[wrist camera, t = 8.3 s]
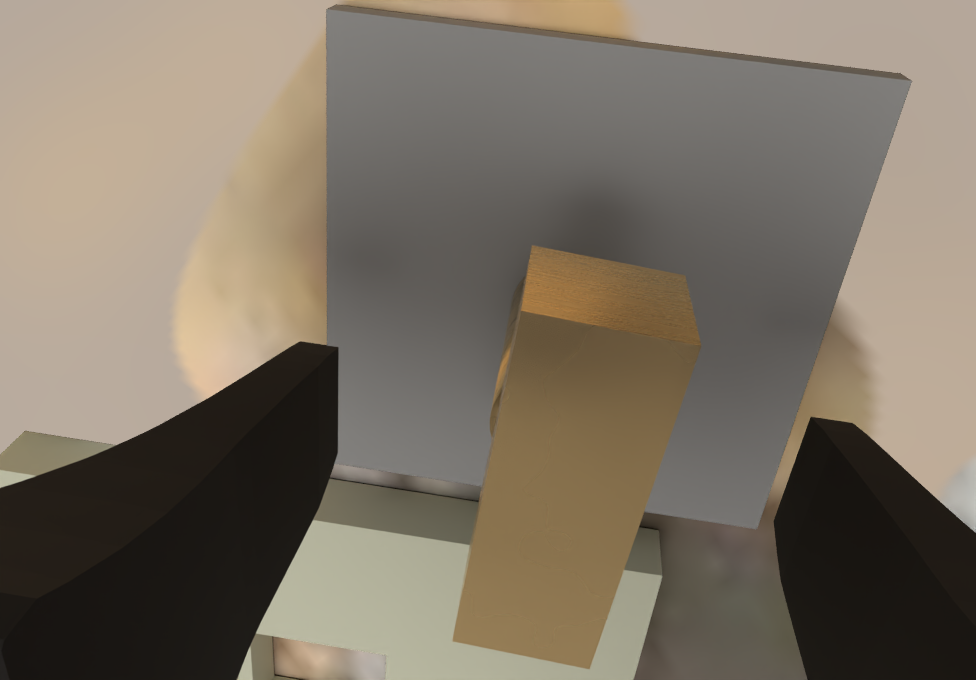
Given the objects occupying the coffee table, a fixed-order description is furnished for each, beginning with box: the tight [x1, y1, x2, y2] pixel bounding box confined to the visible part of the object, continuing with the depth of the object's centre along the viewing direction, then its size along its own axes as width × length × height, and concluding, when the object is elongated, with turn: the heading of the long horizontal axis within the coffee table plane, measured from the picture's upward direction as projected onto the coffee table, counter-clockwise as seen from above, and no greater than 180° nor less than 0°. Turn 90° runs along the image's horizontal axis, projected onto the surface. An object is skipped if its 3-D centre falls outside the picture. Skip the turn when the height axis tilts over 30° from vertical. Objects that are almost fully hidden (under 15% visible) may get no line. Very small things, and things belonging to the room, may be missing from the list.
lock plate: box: [0, 431, 662, 680], centre depth 23 cm, size 16×12×2 cm
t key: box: [452, 245, 701, 669], centre depth 14 cm, size 6×2×6 cm, turn 171°
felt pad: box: [326, 5, 912, 529], centre depth 17 cm, size 10×10×1 cm
